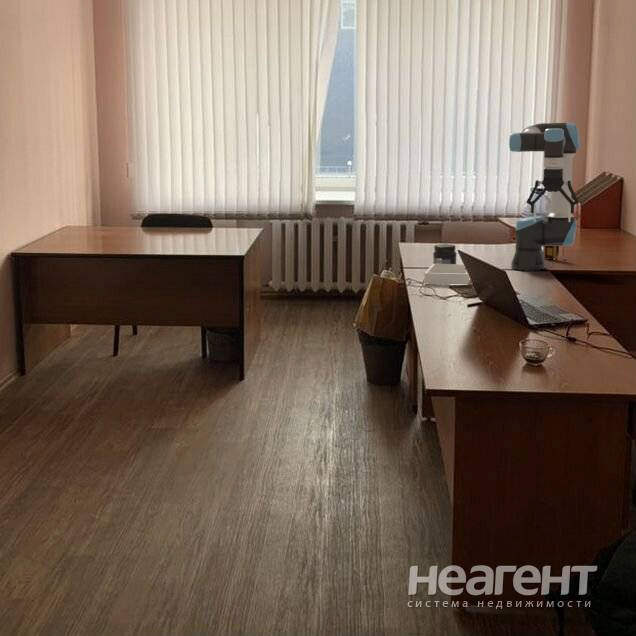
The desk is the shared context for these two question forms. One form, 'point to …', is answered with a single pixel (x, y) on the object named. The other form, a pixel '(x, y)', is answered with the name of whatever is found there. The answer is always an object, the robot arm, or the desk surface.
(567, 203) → the robot arm
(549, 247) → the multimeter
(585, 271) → the desk surface
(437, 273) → the block
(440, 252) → the supplement container
